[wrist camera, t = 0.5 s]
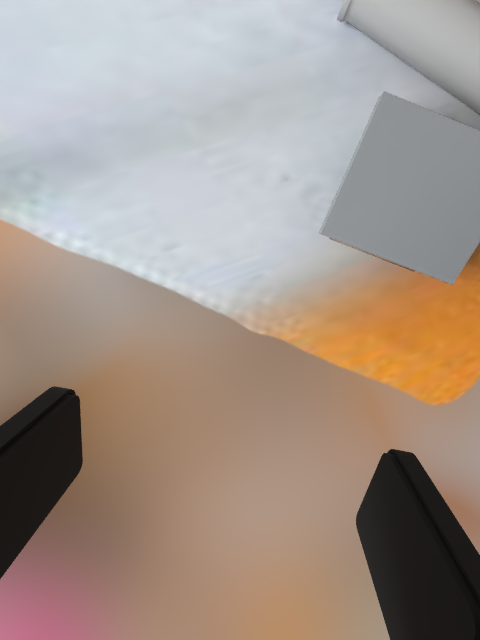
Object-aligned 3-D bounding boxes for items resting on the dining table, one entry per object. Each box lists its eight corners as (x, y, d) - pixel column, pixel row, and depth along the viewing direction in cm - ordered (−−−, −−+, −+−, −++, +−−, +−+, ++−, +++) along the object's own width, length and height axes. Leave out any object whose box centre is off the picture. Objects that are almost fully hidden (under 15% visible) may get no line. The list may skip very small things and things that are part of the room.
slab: (378, 97, 24) (384, 91, 23) (523, 157, 25) (536, 154, 24) (318, 233, 28) (320, 233, 27) (445, 282, 29) (452, 284, 28)
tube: (630, 85, 24) (391, -96, 22) (599, 140, 24) (358, -35, 22) (555, 125, 29) (356, -17, 27) (530, 170, 29) (330, 32, 27)
